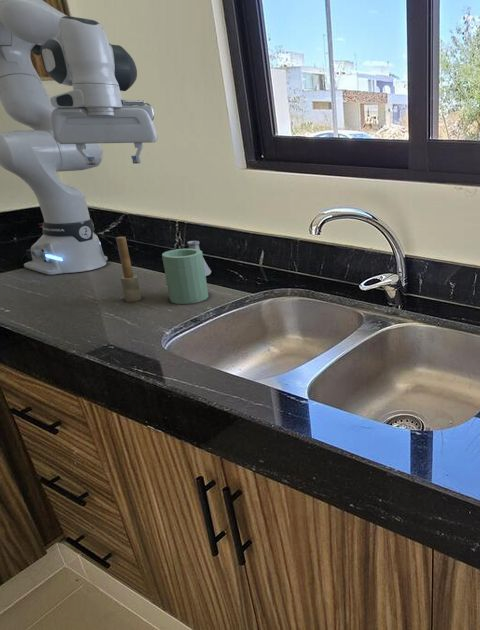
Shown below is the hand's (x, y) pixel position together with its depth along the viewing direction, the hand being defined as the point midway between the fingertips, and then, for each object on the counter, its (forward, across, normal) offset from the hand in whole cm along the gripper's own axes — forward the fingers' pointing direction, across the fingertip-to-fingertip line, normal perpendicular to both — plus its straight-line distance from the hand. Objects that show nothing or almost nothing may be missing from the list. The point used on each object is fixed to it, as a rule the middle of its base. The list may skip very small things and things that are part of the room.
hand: (114, 164), depth 111 cm
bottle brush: (+33, +2, +2) cm, 33 cm away
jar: (+33, -11, +4) cm, 35 cm away
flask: (+33, -12, -17) cm, 39 cm away
